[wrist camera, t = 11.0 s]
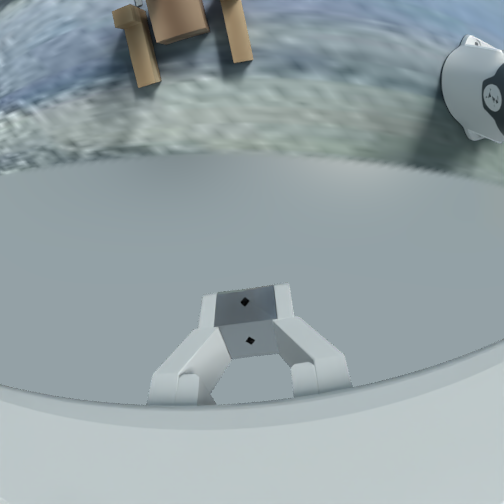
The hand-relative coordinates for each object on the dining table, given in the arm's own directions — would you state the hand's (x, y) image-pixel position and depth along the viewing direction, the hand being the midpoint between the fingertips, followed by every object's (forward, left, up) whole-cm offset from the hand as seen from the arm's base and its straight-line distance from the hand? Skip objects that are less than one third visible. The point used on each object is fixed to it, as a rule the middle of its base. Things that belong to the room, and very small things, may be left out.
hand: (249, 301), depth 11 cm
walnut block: (+5, -17, -34) cm, 38 cm away
